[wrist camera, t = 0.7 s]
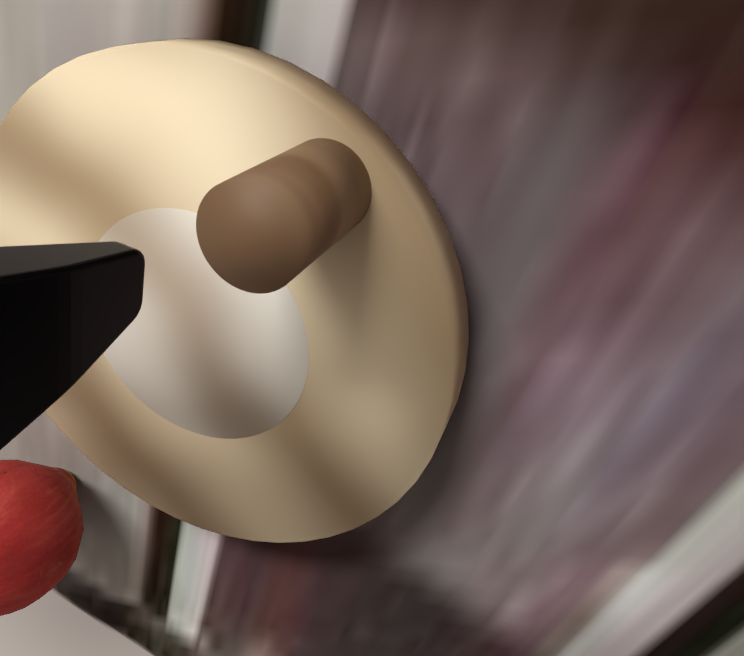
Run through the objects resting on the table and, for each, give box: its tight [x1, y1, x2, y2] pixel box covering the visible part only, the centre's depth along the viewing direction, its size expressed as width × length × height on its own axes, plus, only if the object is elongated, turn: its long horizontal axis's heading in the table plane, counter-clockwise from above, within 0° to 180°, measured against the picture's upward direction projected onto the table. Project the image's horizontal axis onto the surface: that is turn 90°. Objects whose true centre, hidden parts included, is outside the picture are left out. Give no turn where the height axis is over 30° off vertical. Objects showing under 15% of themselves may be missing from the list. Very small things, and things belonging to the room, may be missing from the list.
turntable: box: [0, 38, 469, 543], centre depth 20 cm, size 16×16×6 cm
